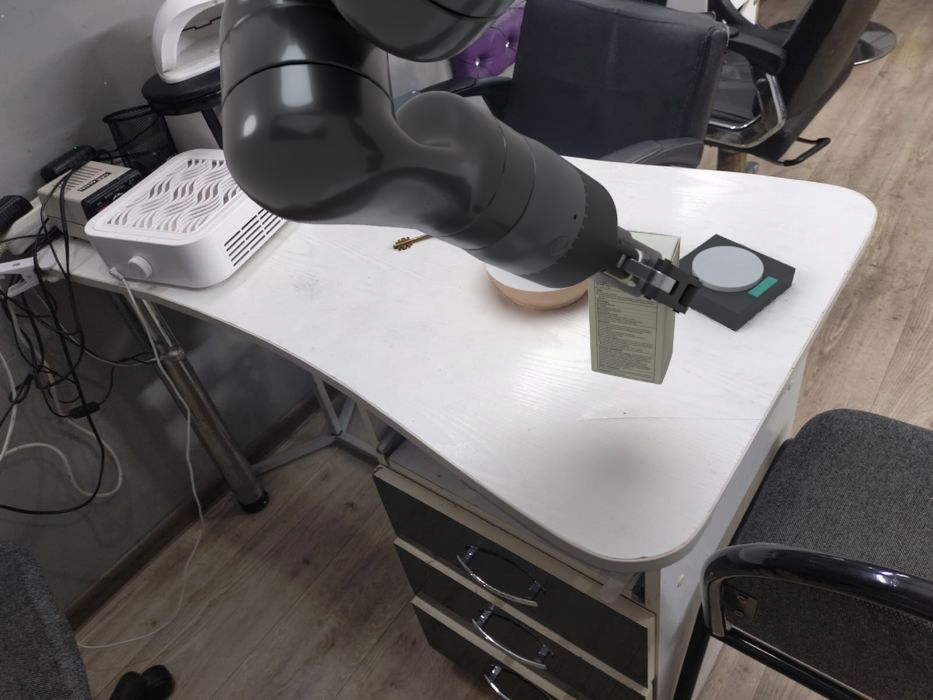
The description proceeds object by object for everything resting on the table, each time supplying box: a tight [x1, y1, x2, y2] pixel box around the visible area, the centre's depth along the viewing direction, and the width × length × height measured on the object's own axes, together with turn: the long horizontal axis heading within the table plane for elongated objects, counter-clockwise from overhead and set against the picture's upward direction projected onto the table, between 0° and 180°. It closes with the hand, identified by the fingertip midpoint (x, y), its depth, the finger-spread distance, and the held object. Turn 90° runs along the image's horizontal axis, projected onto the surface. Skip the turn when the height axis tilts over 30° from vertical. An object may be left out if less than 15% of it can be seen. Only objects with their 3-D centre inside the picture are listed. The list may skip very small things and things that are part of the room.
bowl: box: [483, 262, 588, 311], centre depth 86 cm, size 16×16×8 cm
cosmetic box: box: [587, 229, 681, 385], centre depth 55 cm, size 6×4×12 cm
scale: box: [679, 233, 797, 332], centre depth 82 cm, size 11×11×3 cm
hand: (645, 275), depth 54 cm, fingers closed on cosmetic box, 7 cm apart
